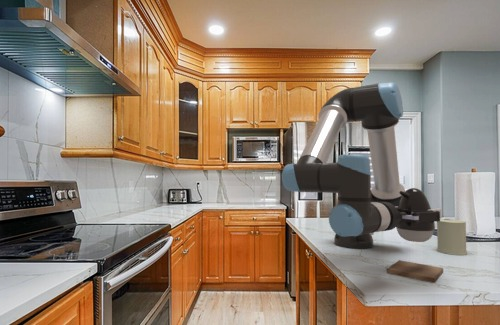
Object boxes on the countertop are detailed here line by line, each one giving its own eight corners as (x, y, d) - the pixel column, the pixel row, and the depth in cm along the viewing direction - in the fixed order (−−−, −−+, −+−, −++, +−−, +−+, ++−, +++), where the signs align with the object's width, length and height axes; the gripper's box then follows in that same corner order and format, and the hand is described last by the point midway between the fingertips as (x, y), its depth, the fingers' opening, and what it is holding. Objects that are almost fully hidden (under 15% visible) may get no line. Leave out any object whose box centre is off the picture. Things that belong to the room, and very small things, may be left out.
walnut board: (386, 272, 86) (386, 268, 87) (399, 263, 95) (399, 260, 96) (434, 282, 79) (434, 278, 79) (443, 272, 87) (443, 267, 88)
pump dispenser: (387, 238, 90) (386, 187, 91) (412, 235, 94) (411, 187, 95) (416, 245, 81) (415, 188, 81) (443, 242, 84) (442, 188, 85)
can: (457, 249, 115) (456, 217, 116) (472, 255, 106) (471, 221, 107) (432, 248, 116) (431, 217, 117) (445, 254, 107) (444, 221, 108)
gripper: (343, 225, 87) (387, 219, 99) (422, 238, 68) (464, 229, 81) (342, 199, 87) (386, 197, 100) (422, 205, 69) (463, 201, 81)
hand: (421, 211), depth 90 cm, fingers closed on pump dispenser, 9 cm apart
